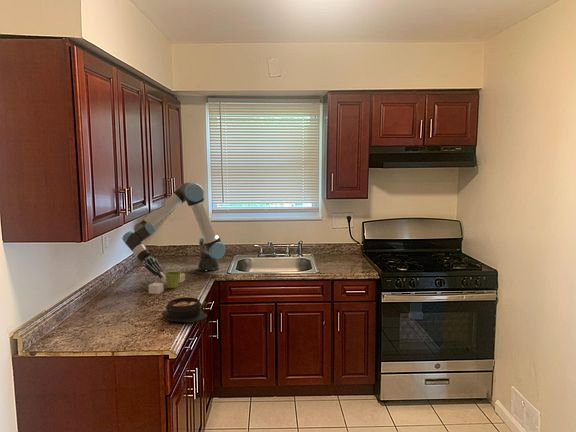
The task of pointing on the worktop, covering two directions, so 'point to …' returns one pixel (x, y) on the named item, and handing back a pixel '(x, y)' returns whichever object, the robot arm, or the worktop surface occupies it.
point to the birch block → (181, 277)
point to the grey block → (156, 288)
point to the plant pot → (172, 279)
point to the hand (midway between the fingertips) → (166, 281)
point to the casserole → (184, 310)
